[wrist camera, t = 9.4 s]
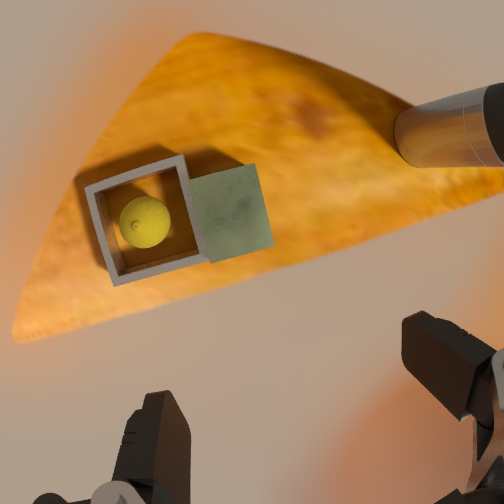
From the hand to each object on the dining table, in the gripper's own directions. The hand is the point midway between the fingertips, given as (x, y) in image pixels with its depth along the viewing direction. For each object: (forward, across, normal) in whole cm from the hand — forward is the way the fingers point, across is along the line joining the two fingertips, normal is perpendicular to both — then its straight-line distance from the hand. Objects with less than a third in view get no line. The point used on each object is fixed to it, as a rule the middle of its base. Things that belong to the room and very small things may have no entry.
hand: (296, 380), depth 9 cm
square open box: (+28, +5, -5) cm, 29 cm away
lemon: (+28, +9, -5) cm, 30 cm away
